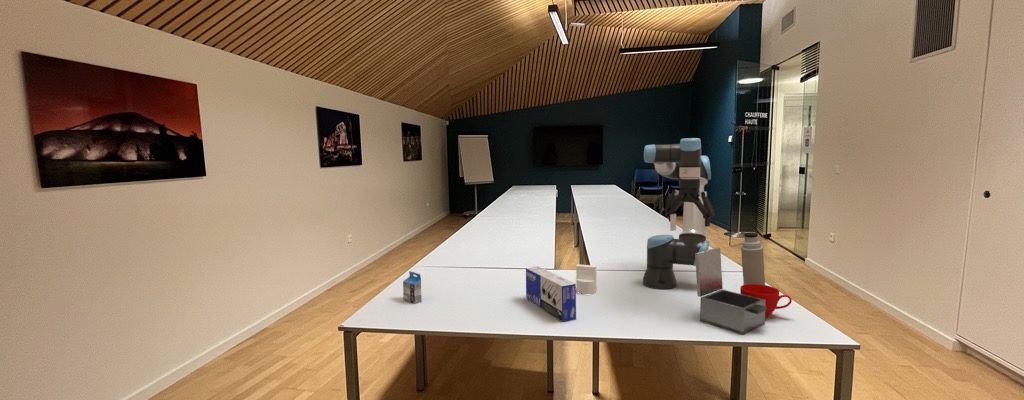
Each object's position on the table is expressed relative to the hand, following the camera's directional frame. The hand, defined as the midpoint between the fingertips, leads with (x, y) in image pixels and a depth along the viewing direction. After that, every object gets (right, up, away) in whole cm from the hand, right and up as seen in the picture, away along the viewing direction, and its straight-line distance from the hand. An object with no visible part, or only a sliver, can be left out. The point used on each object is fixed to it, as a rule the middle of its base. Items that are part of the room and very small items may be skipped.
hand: (688, 232), depth 175 cm
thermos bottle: (+33, -29, +12) cm, 45 cm away
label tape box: (-113, -32, +20) cm, 119 cm away
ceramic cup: (+27, -31, -6) cm, 41 cm away
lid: (+6, -14, -7) cm, 17 cm away
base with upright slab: (-35, -29, +27) cm, 53 cm away
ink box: (-54, -32, +6) cm, 63 cm away
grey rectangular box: (+12, -32, -13) cm, 37 cm away
